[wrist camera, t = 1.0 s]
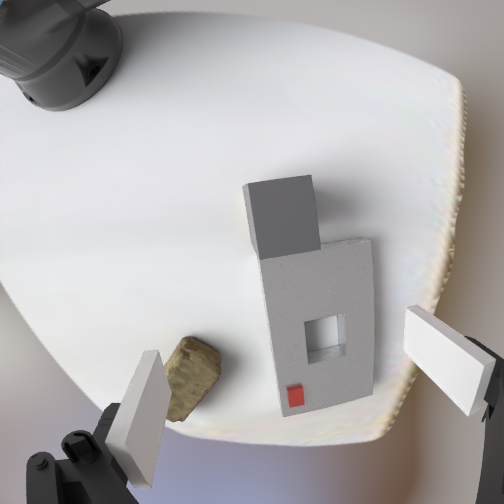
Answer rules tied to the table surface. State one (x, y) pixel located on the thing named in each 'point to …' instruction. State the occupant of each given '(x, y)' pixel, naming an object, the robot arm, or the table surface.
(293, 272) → the socket plate
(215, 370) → the stone block
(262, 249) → the plug
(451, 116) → the table surface
